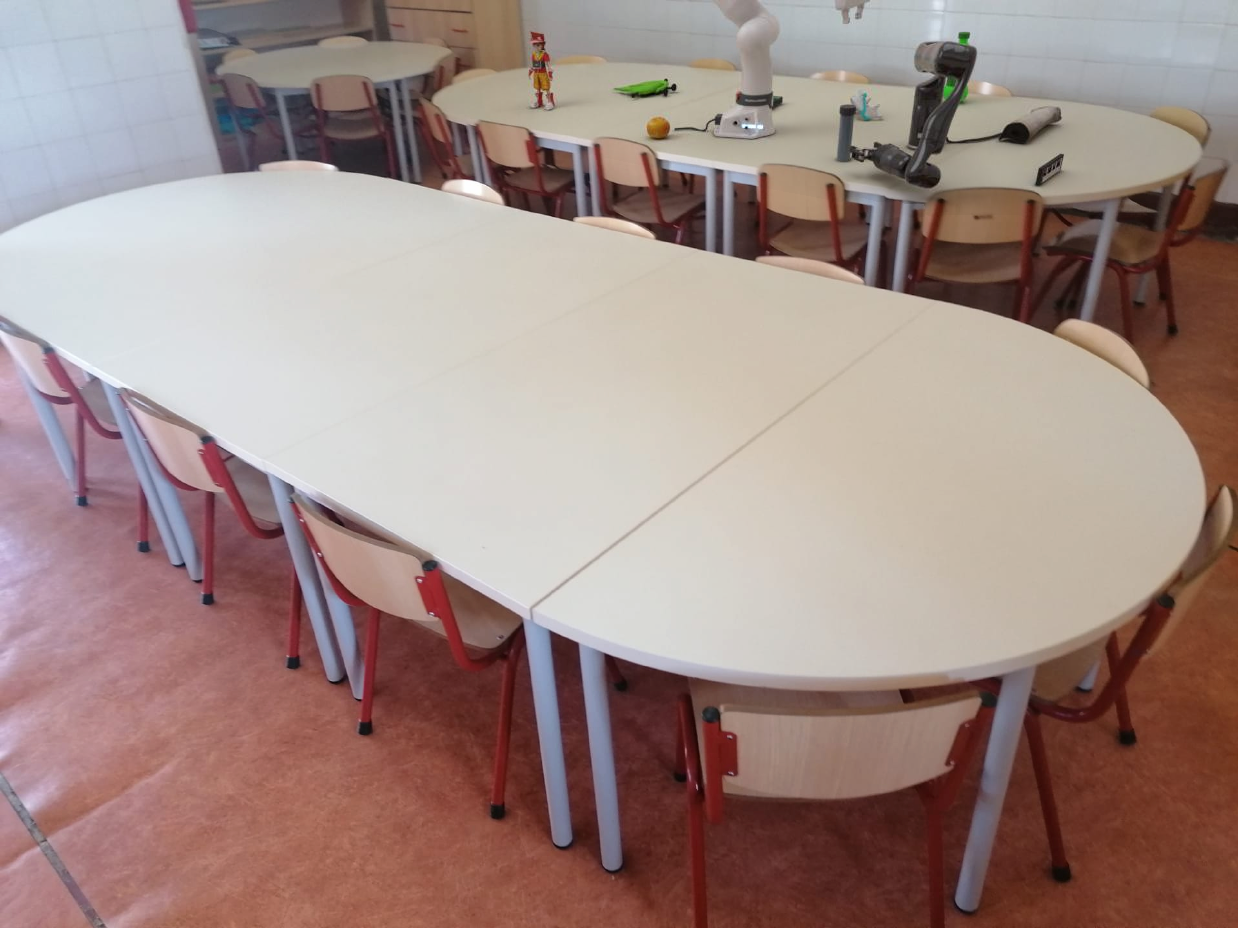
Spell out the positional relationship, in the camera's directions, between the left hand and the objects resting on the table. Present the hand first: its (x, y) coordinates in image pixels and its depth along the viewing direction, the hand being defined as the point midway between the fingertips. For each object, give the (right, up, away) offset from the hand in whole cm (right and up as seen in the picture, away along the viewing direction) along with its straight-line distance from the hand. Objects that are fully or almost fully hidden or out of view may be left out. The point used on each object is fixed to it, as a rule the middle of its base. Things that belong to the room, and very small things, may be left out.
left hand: (852, 21), depth 295 cm
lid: (-2, -30, -4) cm, 30 cm away
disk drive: (-18, 0, +70) cm, 72 cm away
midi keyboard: (+55, -58, -20) cm, 82 cm away
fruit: (-62, -24, +40) cm, 78 cm away
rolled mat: (+68, -29, +20) cm, 77 cm away
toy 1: (-110, +7, +88) cm, 141 cm away
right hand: (+2, -44, -6) cm, 44 cm away
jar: (-1, -44, +6) cm, 44 cm away
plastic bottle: (+56, -2, +60) cm, 82 cm away
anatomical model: (+18, -12, +49) cm, 54 cm away
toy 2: (-67, +19, +102) cm, 124 cm away
